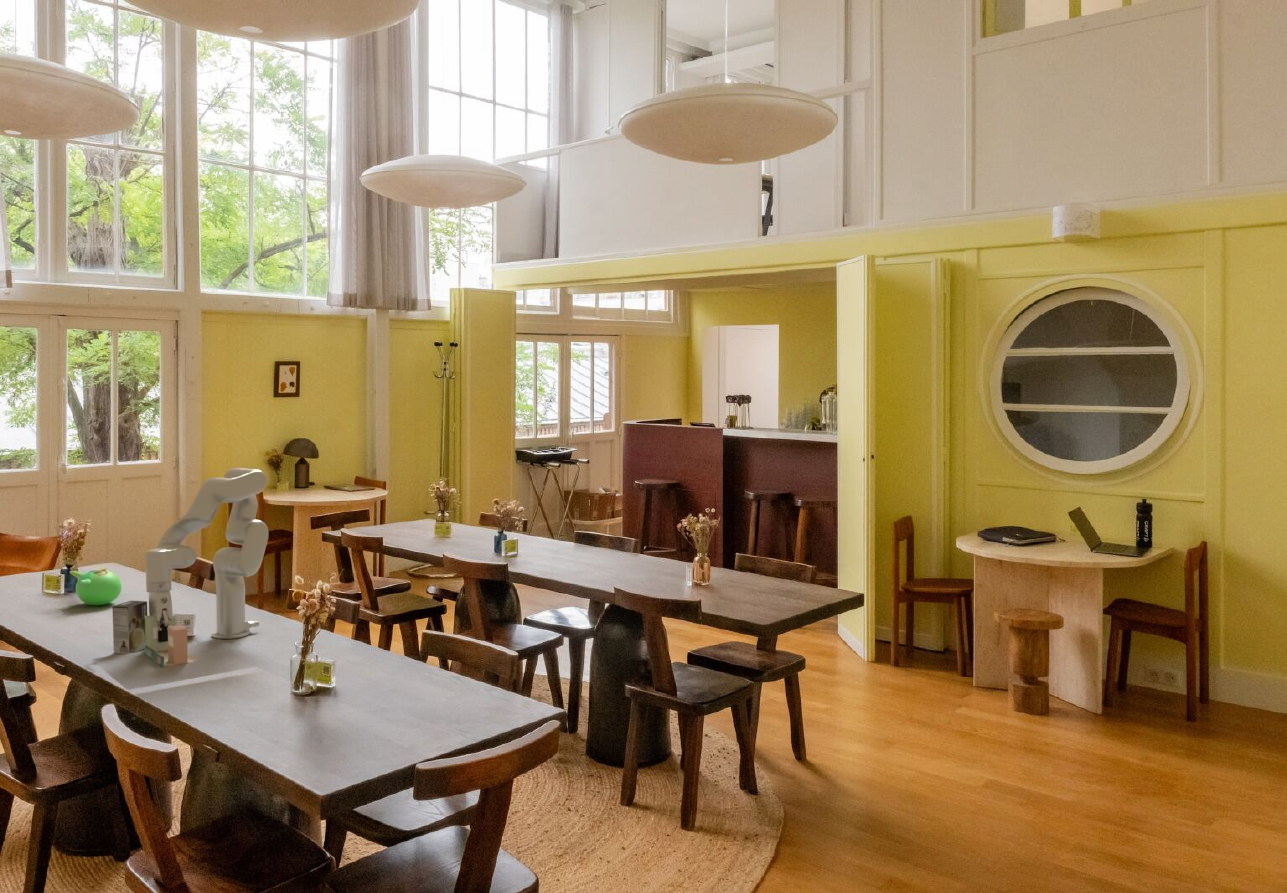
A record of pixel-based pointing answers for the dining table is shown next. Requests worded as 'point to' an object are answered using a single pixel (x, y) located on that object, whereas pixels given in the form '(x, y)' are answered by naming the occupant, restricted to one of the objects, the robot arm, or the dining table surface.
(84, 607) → the dining table surface
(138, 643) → the coffee box
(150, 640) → the sage carton
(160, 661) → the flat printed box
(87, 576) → the green teapot
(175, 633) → the terracotta carton
